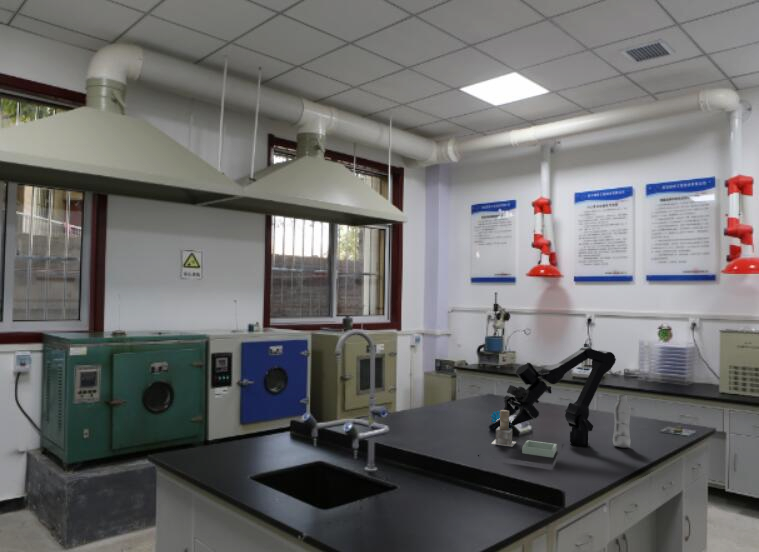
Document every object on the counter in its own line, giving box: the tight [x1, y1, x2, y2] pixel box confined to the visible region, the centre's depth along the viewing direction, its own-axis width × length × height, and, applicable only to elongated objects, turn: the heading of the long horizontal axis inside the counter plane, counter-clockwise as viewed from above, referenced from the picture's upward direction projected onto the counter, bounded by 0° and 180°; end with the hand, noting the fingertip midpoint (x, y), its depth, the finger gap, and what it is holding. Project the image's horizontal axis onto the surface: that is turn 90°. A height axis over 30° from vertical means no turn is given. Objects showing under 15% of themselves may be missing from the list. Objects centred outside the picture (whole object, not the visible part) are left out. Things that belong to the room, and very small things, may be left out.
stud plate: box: [491, 438, 517, 448], centre depth 213 cm, size 8×8×5 cm
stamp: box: [495, 409, 513, 446], centre depth 214 cm, size 5×5×12 cm
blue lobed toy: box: [490, 410, 500, 423], centre depth 243 cm, size 11×6×10 cm
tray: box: [521, 440, 558, 458], centre depth 202 cm, size 11×11×4 cm
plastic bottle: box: [612, 394, 632, 449], centre depth 220 cm, size 6×7×20 cm
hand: (506, 422), depth 214 cm, fingers open, 9 cm apart
